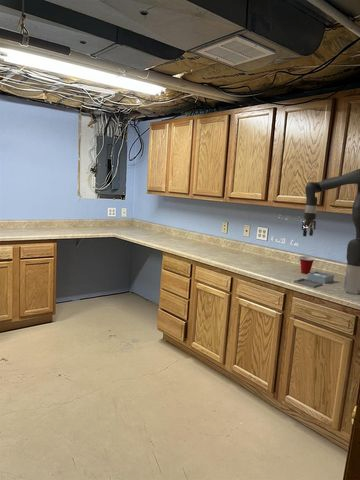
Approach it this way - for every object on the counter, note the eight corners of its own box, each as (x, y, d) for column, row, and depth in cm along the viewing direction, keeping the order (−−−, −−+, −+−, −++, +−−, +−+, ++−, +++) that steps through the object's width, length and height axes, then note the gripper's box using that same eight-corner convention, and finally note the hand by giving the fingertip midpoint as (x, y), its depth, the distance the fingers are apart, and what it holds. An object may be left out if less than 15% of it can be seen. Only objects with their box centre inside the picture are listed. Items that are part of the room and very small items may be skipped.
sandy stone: (327, 282, 247) (323, 283, 243) (321, 279, 250) (318, 280, 246) (328, 276, 246) (325, 277, 242) (323, 274, 248) (319, 275, 245)
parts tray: (322, 285, 238) (322, 283, 238) (313, 288, 230) (313, 285, 230) (302, 280, 248) (302, 278, 248) (293, 282, 240) (293, 280, 240)
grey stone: (323, 274, 249) (316, 273, 253) (320, 275, 247) (313, 273, 250) (322, 280, 250) (315, 278, 253) (319, 280, 247) (312, 279, 251)
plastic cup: (295, 273, 269) (297, 257, 267) (299, 270, 278) (301, 255, 276) (310, 275, 263) (312, 259, 261) (314, 273, 272) (316, 257, 270)
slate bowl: (333, 281, 250) (333, 275, 250) (324, 284, 242) (325, 277, 241) (315, 277, 259) (316, 271, 259) (307, 279, 251) (307, 273, 250)
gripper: (310, 212, 238) (307, 237, 240) (320, 212, 247) (318, 236, 250) (299, 211, 243) (297, 235, 246) (310, 211, 253) (307, 234, 255)
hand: (307, 236), depth 248 cm, fingers open, 8 cm apart
